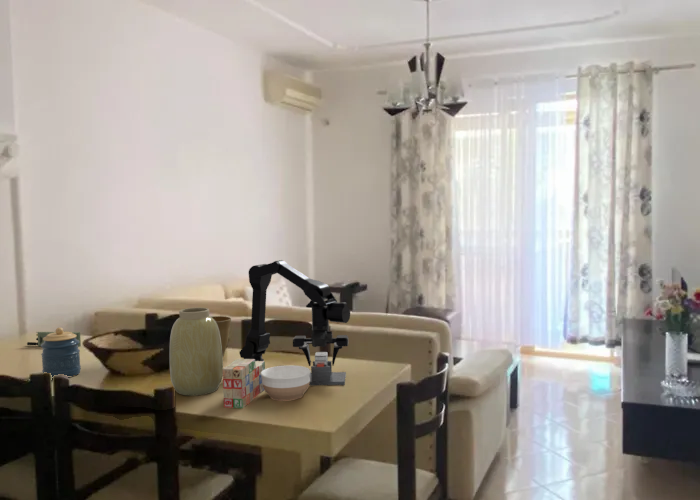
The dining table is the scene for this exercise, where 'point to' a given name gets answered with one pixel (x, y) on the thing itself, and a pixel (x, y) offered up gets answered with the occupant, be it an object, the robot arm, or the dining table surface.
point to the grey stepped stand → (326, 375)
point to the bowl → (286, 382)
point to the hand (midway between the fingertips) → (321, 365)
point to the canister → (61, 353)
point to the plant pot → (223, 330)
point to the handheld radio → (44, 334)
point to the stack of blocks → (242, 382)
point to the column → (321, 358)
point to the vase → (195, 353)
